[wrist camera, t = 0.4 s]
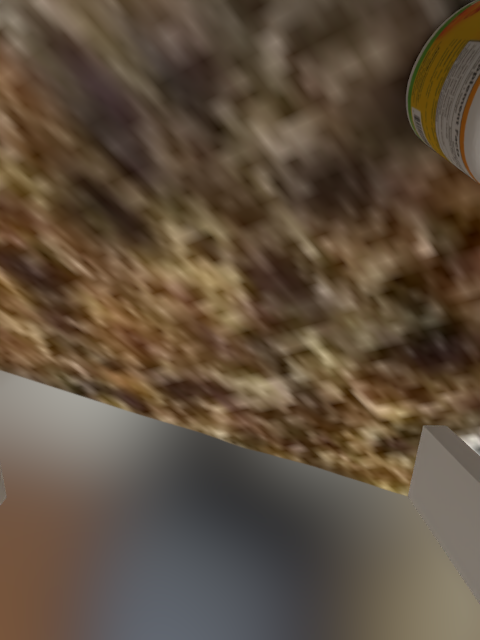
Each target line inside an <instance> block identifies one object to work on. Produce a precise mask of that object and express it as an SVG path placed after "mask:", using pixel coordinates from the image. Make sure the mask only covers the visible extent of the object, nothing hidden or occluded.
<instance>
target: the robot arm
mask: <svg viewBox="0 0 480 640" xmlns="http://www.w3.org/2000/svg"><path fill="white" fill-rule="evenodd" d="M408 498H409V499H410V501H411V502H412V504H413V505H414V507H415V508H416V510H417V511H418V512H419V514H420V516H421V517H422V519H423V520H424V521H425V523H426V525H427V526H428V528H429V529H430V531H431V532H432V534H433V535H434V537H435V538H436V540H437V541H438V542H439V544H440V546H441V547H442V548H443V550H444V552H445V553H446V554H447V556H448V557H449V559H450V561H451V562H452V563H453V565H454V567H455V568H456V570H457V571H458V573H459V574H460V576H461V577H462V579H463V580H464V581H465V583H466V584H467V586H468V587H469V589H470V590H471V592H472V593H473V595H474V596H475V598H476V599H477V601H478V602H479V604H480V456H479V455H478V454H477V453H476V452H475V451H473V450H472V449H471V448H470V447H469V446H468V445H467V444H466V443H465V442H464V441H463V440H461V439H460V438H459V437H458V436H457V435H456V434H455V433H454V432H453V431H452V430H451V429H450V428H448V427H447V426H423V429H422V434H421V439H420V443H419V448H418V452H417V457H416V462H415V466H414V471H413V475H412V480H411V485H410V489H409V494H408ZM5 499H6V492H5V486H4V480H3V475H2V469H1V464H0V505H1V504H2V503H3V501H4V500H5Z"/></svg>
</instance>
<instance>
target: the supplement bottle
mask: <svg viewBox="0 0 480 640" xmlns="http://www.w3.org/2000/svg"><path fill="white" fill-rule="evenodd" d="M406 110H407V116H408V119H409V123H410V125H411V127H412V129H413V131H414V132H415V134H416V135H417V136H418V137H419V138H420V139H421V140H422V141H423V142H424V143H425V144H426V145H427V146H429V147H430V148H431V149H433V150H434V151H435V152H437V153H438V154H440V155H441V156H442V157H444V158H445V159H446V160H448V161H449V162H451V163H452V164H453V165H455V166H456V167H457V168H459V169H460V170H461V171H463V172H464V173H465V174H467V175H468V176H470V177H471V178H472V179H473V180H475V181H476V182H477V183H479V184H480V0H475V1H473V2H471V3H469V4H467V5H466V6H464V7H462V8H461V9H459V10H458V11H456V12H455V13H454V14H452V15H451V16H450V17H449V18H448V19H447V20H445V21H444V22H443V23H442V24H441V25H440V26H439V27H438V28H437V30H436V31H435V32H434V33H433V34H432V36H431V37H430V38H429V39H428V41H427V42H426V44H425V45H424V47H423V48H422V50H421V52H420V54H419V55H418V57H417V59H416V61H415V64H414V66H413V68H412V71H411V74H410V77H409V80H408V85H407V91H406Z"/></svg>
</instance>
